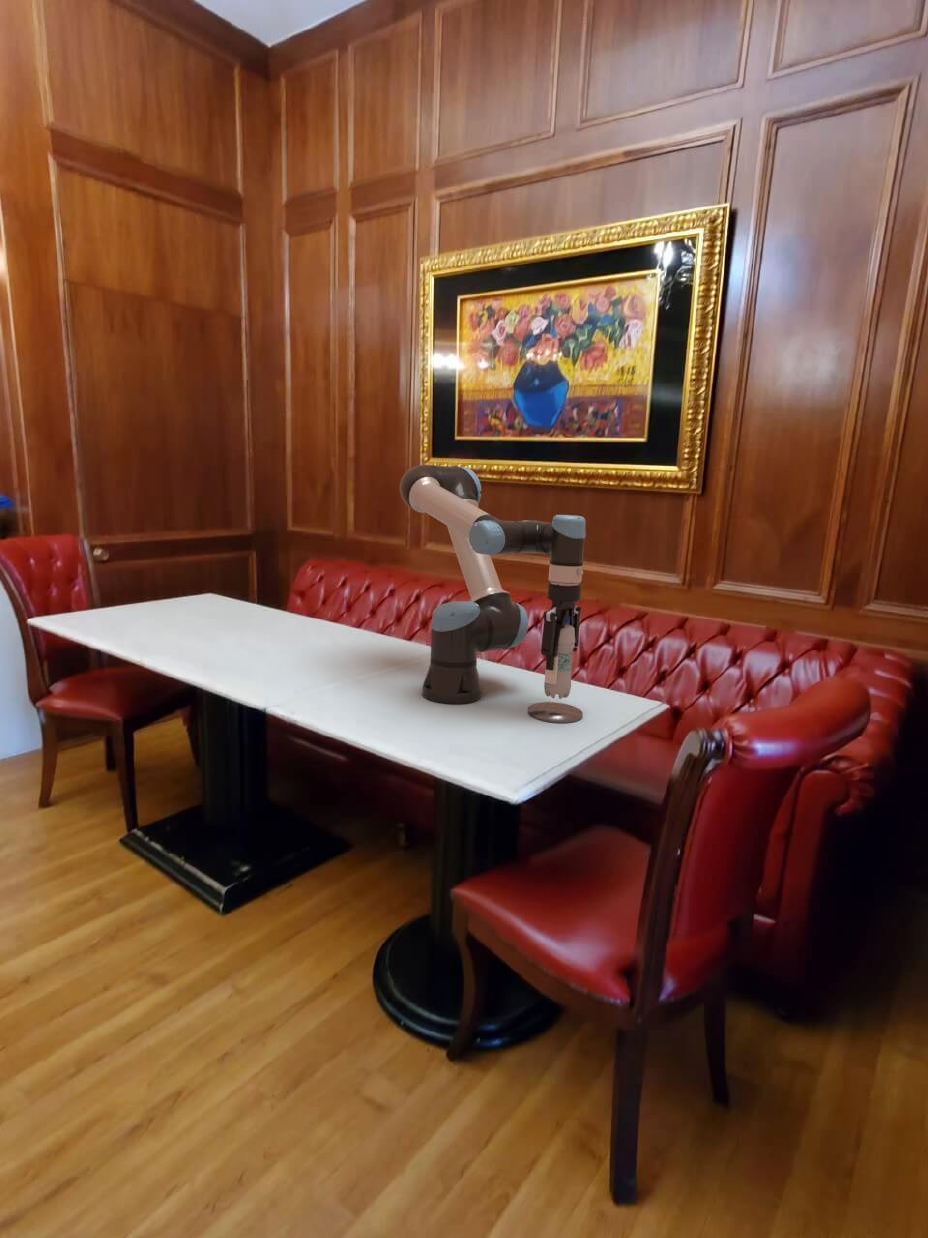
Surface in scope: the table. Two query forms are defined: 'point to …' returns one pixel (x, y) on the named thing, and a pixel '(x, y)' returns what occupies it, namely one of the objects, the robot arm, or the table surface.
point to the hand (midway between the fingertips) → (557, 680)
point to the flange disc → (555, 712)
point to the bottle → (563, 663)
